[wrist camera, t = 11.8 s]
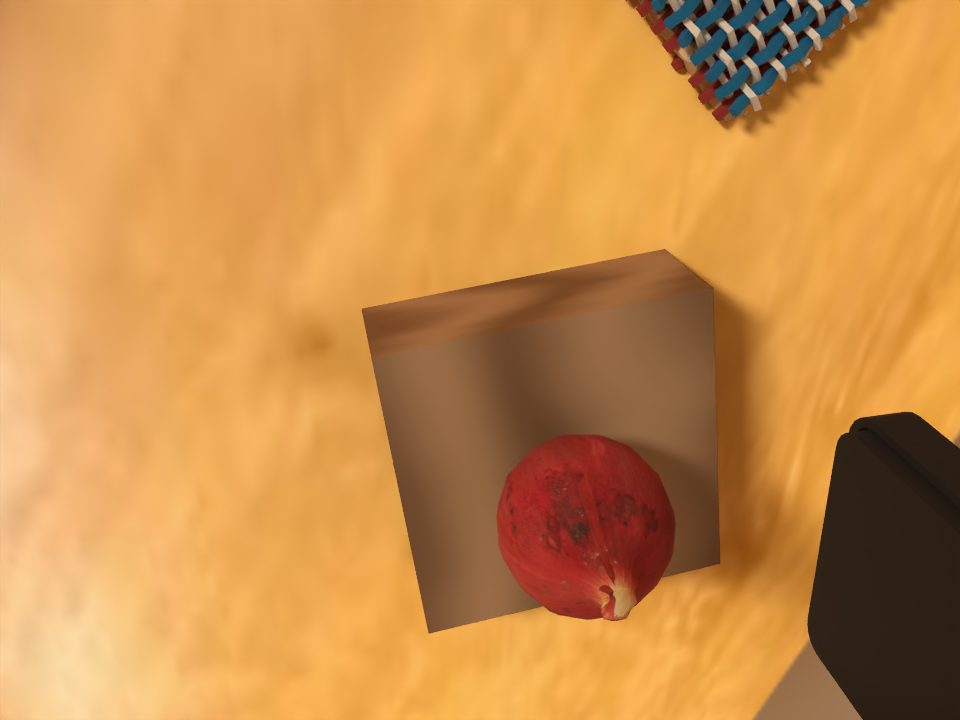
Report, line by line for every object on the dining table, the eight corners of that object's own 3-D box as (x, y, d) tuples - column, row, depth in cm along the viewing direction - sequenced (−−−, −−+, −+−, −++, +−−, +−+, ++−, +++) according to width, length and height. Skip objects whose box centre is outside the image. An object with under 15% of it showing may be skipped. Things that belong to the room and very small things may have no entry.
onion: (455, 440, 32) (489, 571, 25) (603, 371, 32) (680, 482, 25) (519, 561, 35) (567, 714, 27) (657, 497, 34) (743, 634, 27)
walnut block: (660, 245, 36) (712, 288, 32) (673, 496, 41) (720, 563, 37) (360, 304, 35) (371, 357, 30) (413, 556, 40) (428, 633, 35)
